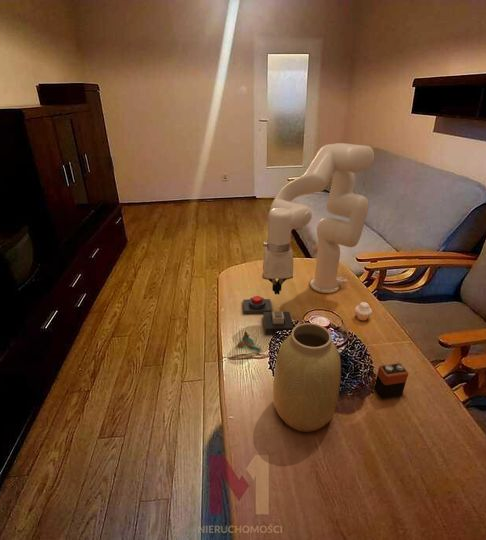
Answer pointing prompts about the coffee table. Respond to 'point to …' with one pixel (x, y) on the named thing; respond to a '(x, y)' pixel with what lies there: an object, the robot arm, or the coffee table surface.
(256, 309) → the switch block
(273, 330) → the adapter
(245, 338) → the dragon figurine
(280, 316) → the charger
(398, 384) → the battery
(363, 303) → the cream rounded piece
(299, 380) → the vase
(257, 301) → the power button
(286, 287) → the coffee table surface
